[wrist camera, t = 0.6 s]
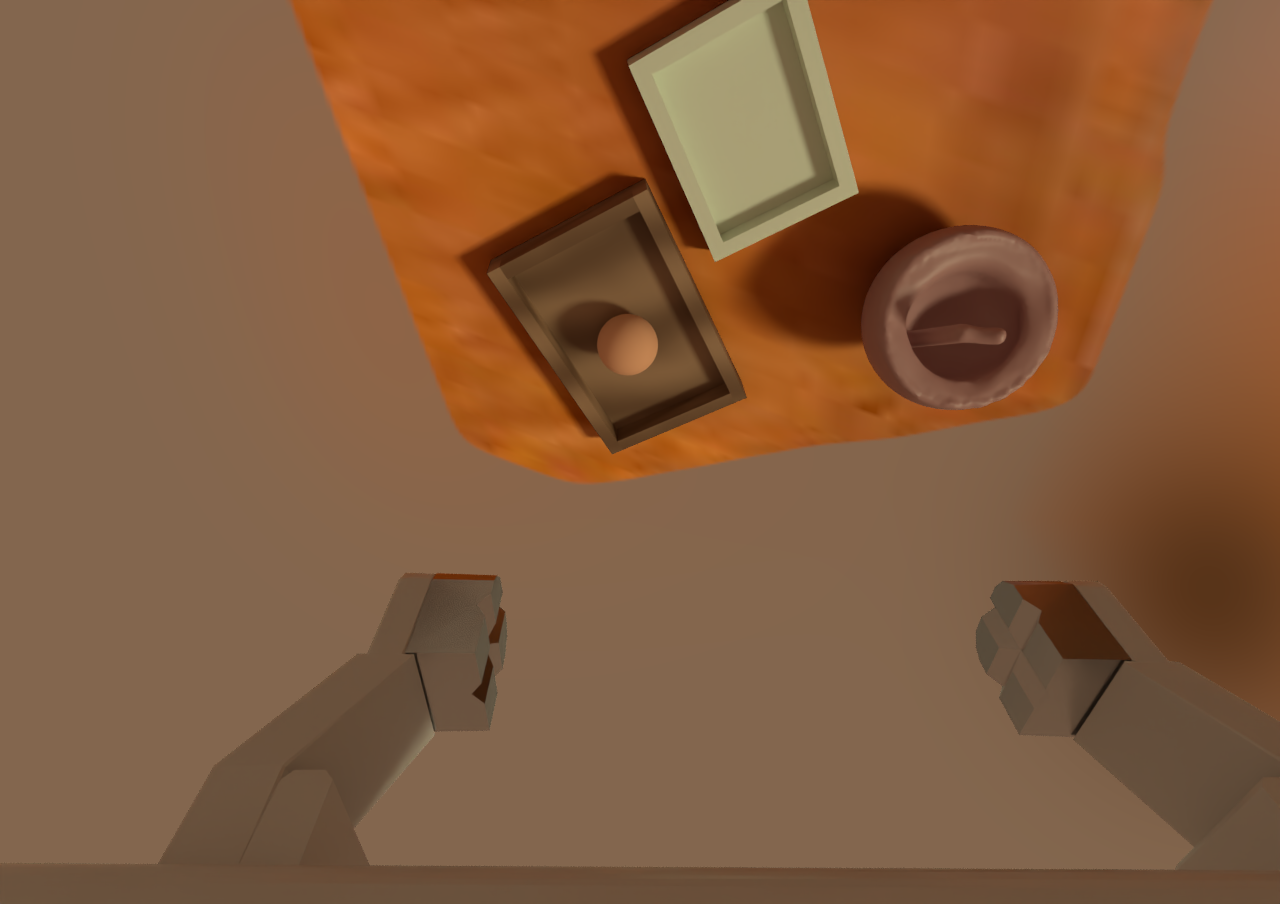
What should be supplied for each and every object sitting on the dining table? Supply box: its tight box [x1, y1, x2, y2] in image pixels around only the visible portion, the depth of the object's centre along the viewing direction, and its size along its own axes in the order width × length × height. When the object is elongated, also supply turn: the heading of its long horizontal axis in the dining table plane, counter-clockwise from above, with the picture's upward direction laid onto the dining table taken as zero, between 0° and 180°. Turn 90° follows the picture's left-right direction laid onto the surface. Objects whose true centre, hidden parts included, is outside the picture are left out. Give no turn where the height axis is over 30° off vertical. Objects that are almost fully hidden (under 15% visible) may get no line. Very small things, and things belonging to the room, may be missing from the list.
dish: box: [487, 179, 747, 454], centre depth 48 cm, size 18×12×2 cm, turn 26°
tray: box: [627, 0, 859, 262], centre depth 40 cm, size 13×10×2 cm
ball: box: [597, 314, 658, 375], centre depth 47 cm, size 4×4×4 cm
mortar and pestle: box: [861, 225, 1058, 410], centre depth 44 cm, size 12×12×11 cm
